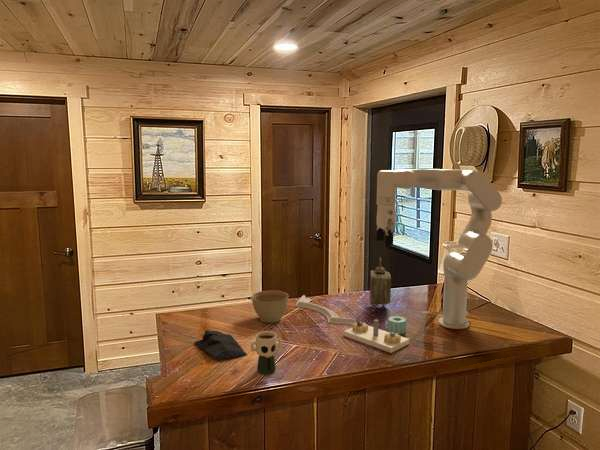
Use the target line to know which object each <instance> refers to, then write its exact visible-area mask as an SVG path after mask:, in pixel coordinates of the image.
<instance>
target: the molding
mask: <svg viewBox="0 0 600 450" xmlns="http://www.w3.org/2000/svg"><path fill="white" fill-rule="evenodd" d="M294 307H295V308H302V309H308V310H311V311H315V312H317V313H319V314H321V315H322V316H324V317H325V318H326V320H327V324H329V325H330V324H331V325H343V326H353V325H354V323H356V322H357V319H356V318H350V317H349V318H348V317H339V315H338V314H337V313H336V312H334V311H333V310H331V309H330V308H327V307H325V306H323V305H319V304H315V303H312V302H311V298H310V297H306V295H305V294H303V295H302V296H301V297H300V298H299V299H298V300H297V302H296V304H295V305H294Z"/></svg>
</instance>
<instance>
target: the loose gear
mask: <svg viewBox="0 0 600 450" xmlns="http://www.w3.org/2000/svg"><path fill="white" fill-rule="evenodd" d="M386 330H387V332H389V333H390V332H394V333H395V334H396V333H397V334H398V335H403V334H406V333H407V318H405V317H402V316H400V315H399V316H396V315H394V316H392V315H390V317H389V316H388V317H387V329H386Z"/></svg>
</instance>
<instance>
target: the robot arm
mask: <svg viewBox="0 0 600 450" xmlns="http://www.w3.org/2000/svg"><path fill="white" fill-rule="evenodd" d="M376 176H377V177H376V179H377V180H376V181H377V182H376V205H377V210H376V241H377V242H379V241H384V245H385V246H393V245H394V235H395V234H394V233H395V230H396V227H397V225H396V224H397V220H396V219H397V218H396V215H397V214H396V198H397V197H396V195H397V189H404V190H409V189H413V188H421V189H426V190H427V189H428V190H431V191H432V190H433V191H434V190H435V191H465V192H469V194H468V197H467V199H468V204H469V206H470V210H471V211H470V212H471V215H470V218H469V221H468V223H467V224H466V226H465V228H464V229H463V231H462V233H461V235H460V236H459V238H458V241H457V243H458V245H457V246H458V247H459V248H460V249H461V250H462V251H463V252H465V254H464V253H461V252H458V251H452V252H449V253H447V254H446V255H445V257H444V258H443V262H442V263H443V265H442V267H443V276H444V280H443V281H444V282H443V283H444V284H443V297H442V300H443V301H442V316H441V317H440V318H439V319H438V325H440V326H442V327H444V328H447V329H453V330H463V329H467V328H468V327H469V326H470V323H469V321H468V320H467V318H466V317H467V316H469V311H467V304H468V303H467V302H468V301H467V298H468V281H472V280H474V279H475V278H477V277H478V275H479V274H480V273H481V271H482V269H483V268H484V266H485V264H486V263H487V261H488V259H489V257H490V256H491V253H492V251H493V246H494V245H493V241H492V239H491V238H490V237H489V235H487V233H488V231H489V229H490V227H491V225H492V220H493V215H492V212H495V211H497V210H498V209H500V208H501V206H502V203H503V197H502V195H501V193H500V192H499V191H498V190H497V188H495V186H494V185H493V184H492V183H491V182H490V181H489V180H488V178H487V177H485V175H484V174H482V173H481V172H479V171H478V170H472V169H471V170H470V169H448V168H447V169H443V168H441V169H440V168H433V169H432V168H431V169H413V168H411V169H409V168H408V169H407V168H406V169H405V168H404V169H403V168H398V169H395V170H391V169H388V170H387V169H386V170H385V169H383V170H378V172H377V175H376Z"/></svg>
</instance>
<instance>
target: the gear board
mask: <svg viewBox="0 0 600 450" xmlns="http://www.w3.org/2000/svg"><path fill="white" fill-rule="evenodd" d="M379 321H380V320H379V319H373V326H372V325H369V324H366V322H363V321H360V320H356V322H355V323H354V325H352V327H351V328H350V327H349V328H347V329H346V330H345V329H344V331H343V336H344V337H346V338H349V339H352V340H355V341H357V342H360V343H363V344H365V345H368V346H370V347H374V348H377V349H379V350H382V351H384V352H387V353H389V354H392V353H394V352H397V351H398V350H400V349H402V348H404V347H405V346H407V345H409V344H410V338H408V337H404V336H401V334H397V333H396V334H395V333H394V332H389V331H386V330H382V329H380V328H379V325H380V322H379Z"/></svg>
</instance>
